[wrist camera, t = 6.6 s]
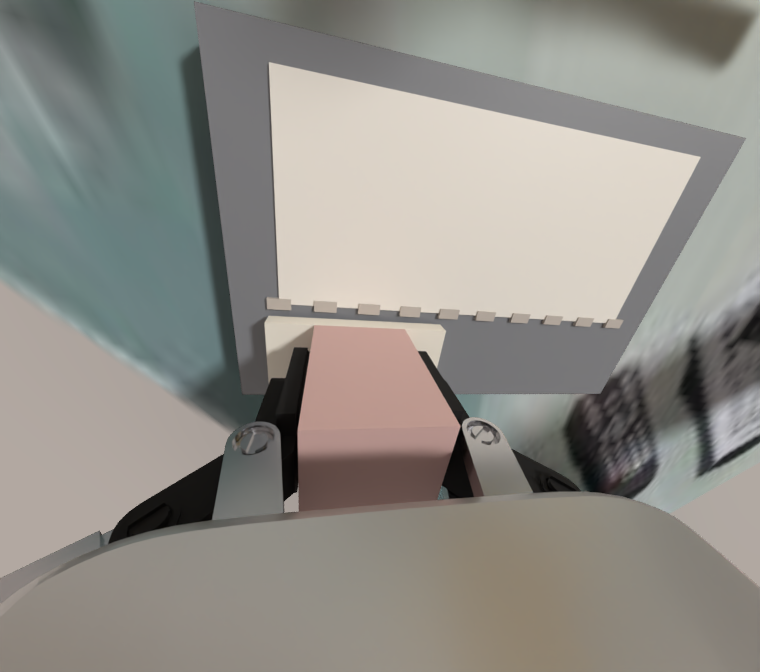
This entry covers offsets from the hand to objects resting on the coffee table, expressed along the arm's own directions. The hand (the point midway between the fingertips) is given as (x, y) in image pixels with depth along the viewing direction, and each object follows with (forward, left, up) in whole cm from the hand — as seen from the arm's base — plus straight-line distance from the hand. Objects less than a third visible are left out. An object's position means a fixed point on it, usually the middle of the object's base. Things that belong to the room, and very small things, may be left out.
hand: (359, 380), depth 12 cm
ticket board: (-5, -4, -4) cm, 8 cm away
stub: (0, 0, -2) cm, 2 cm away
